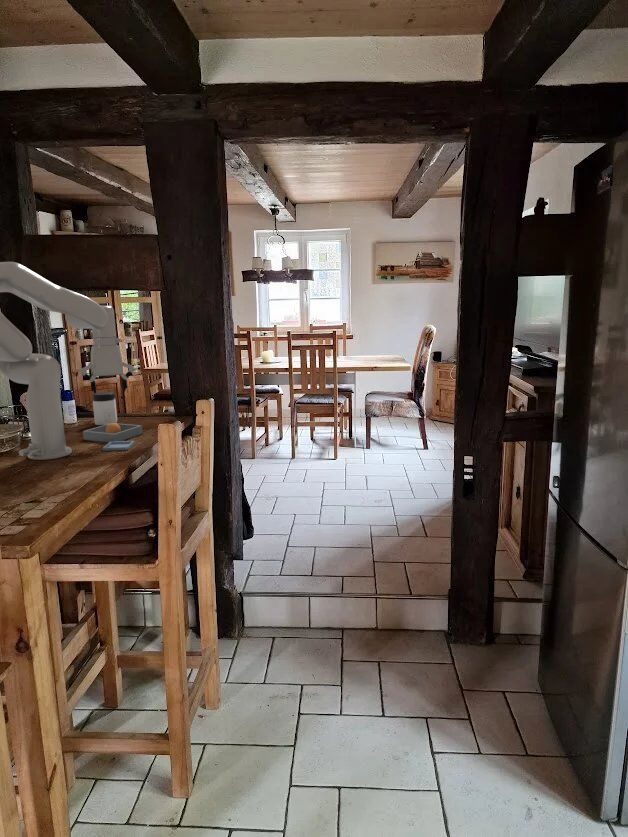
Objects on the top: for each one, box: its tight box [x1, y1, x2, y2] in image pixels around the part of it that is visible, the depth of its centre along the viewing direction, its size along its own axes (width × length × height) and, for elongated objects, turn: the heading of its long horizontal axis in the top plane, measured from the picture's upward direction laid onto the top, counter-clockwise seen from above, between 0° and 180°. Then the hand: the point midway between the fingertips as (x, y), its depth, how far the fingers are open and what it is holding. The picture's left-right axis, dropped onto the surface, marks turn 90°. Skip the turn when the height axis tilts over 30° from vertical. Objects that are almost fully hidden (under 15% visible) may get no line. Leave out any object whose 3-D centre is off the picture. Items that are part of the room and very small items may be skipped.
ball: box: [106, 422, 121, 434], centre depth 197 cm, size 5×5×5 cm
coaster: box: [102, 440, 136, 452], centre depth 183 cm, size 8×8×1 cm
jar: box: [91, 390, 118, 426], centre depth 218 cm, size 9×8×12 cm
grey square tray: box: [82, 422, 144, 443], centre depth 197 cm, size 14×14×3 cm
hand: (109, 391), depth 194 cm, fingers open, 9 cm apart
